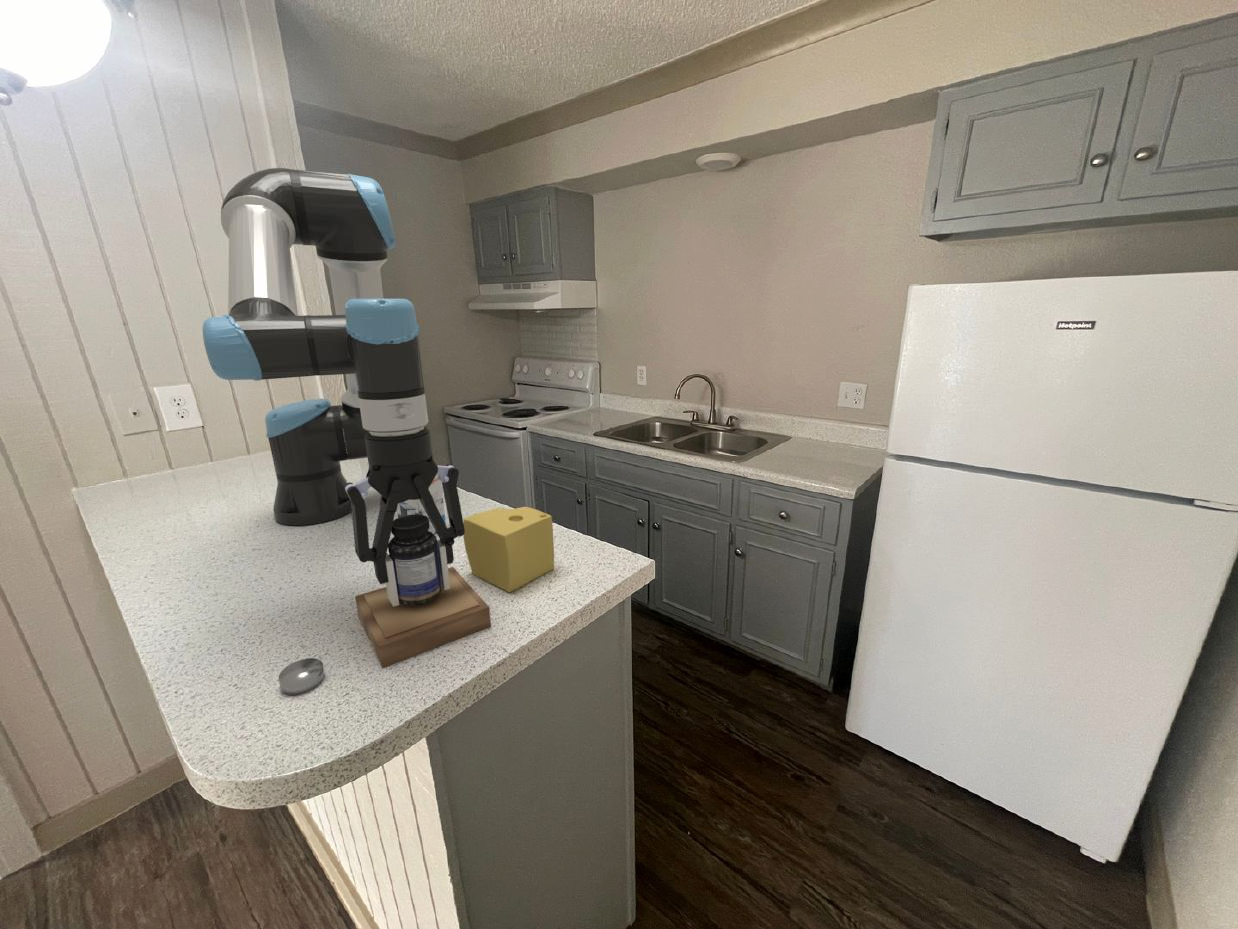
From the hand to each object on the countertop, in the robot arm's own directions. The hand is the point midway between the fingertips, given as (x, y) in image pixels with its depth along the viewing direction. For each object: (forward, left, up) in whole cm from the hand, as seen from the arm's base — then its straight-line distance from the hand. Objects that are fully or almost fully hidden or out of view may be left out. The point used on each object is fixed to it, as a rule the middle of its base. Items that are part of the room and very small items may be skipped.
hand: (419, 592), depth 71 cm
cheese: (-5, +16, -5) cm, 17 cm away
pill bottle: (0, 0, -1) cm, 1 cm away
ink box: (-29, +9, -5) cm, 31 cm away
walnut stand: (0, 0, -4) cm, 4 cm away
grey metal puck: (+4, -15, -5) cm, 16 cm away
